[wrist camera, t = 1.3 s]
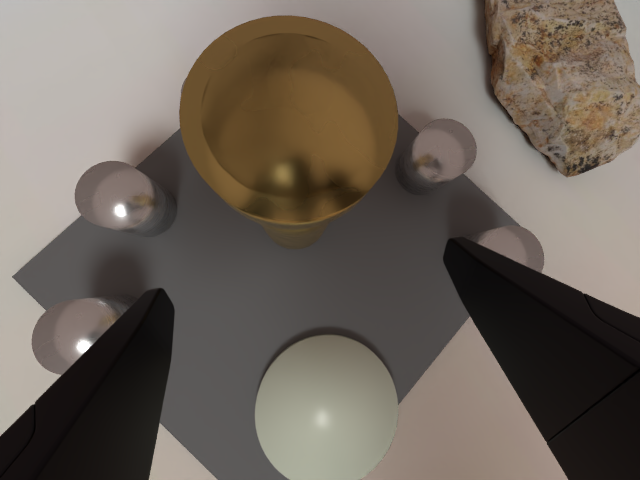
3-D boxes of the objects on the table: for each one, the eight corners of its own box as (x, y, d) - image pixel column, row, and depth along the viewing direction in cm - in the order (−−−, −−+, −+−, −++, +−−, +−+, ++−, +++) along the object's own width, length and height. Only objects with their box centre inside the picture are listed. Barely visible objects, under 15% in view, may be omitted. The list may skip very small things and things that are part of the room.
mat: (528, 238, 22) (532, 237, 21) (285, 540, 18) (285, 545, 18) (299, 27, 22) (299, 23, 22) (17, 276, 19) (11, 276, 18)
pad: (422, 399, 19) (426, 402, 19) (330, 515, 18) (331, 523, 17) (323, 305, 19) (324, 306, 19) (225, 413, 18) (223, 417, 18)
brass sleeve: (349, 216, 20) (440, 115, 8) (296, 273, 20) (295, 267, 7) (293, 164, 21) (288, -23, 8) (238, 218, 20) (130, 111, 7)
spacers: (502, 280, 21) (550, 281, 17) (91, 358, 18) (34, 381, 14) (453, 79, 22) (487, 37, 18) (72, 122, 20) (15, 84, 16)
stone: (690, 153, 19) (612, 116, 15) (570, 191, 24) (491, 173, 20) (603, -81, 24) (526, -158, 19) (520, -3, 29) (448, -50, 25)
